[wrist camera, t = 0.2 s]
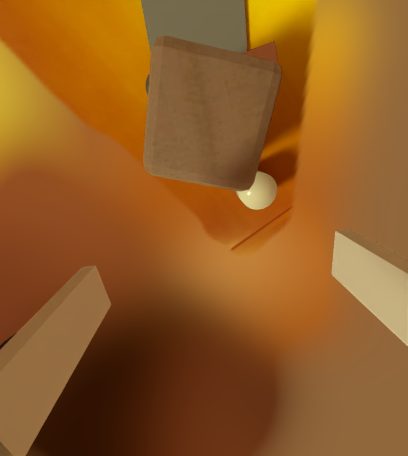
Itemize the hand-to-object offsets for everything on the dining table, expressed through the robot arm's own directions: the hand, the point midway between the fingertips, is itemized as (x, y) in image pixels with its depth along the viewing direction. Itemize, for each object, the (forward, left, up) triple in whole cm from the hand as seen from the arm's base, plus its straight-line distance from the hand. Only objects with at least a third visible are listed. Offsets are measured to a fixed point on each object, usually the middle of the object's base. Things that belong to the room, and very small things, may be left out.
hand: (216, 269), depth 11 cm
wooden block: (-8, +1, -28) cm, 29 cm away
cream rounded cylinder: (+1, +8, -28) cm, 29 cm away
